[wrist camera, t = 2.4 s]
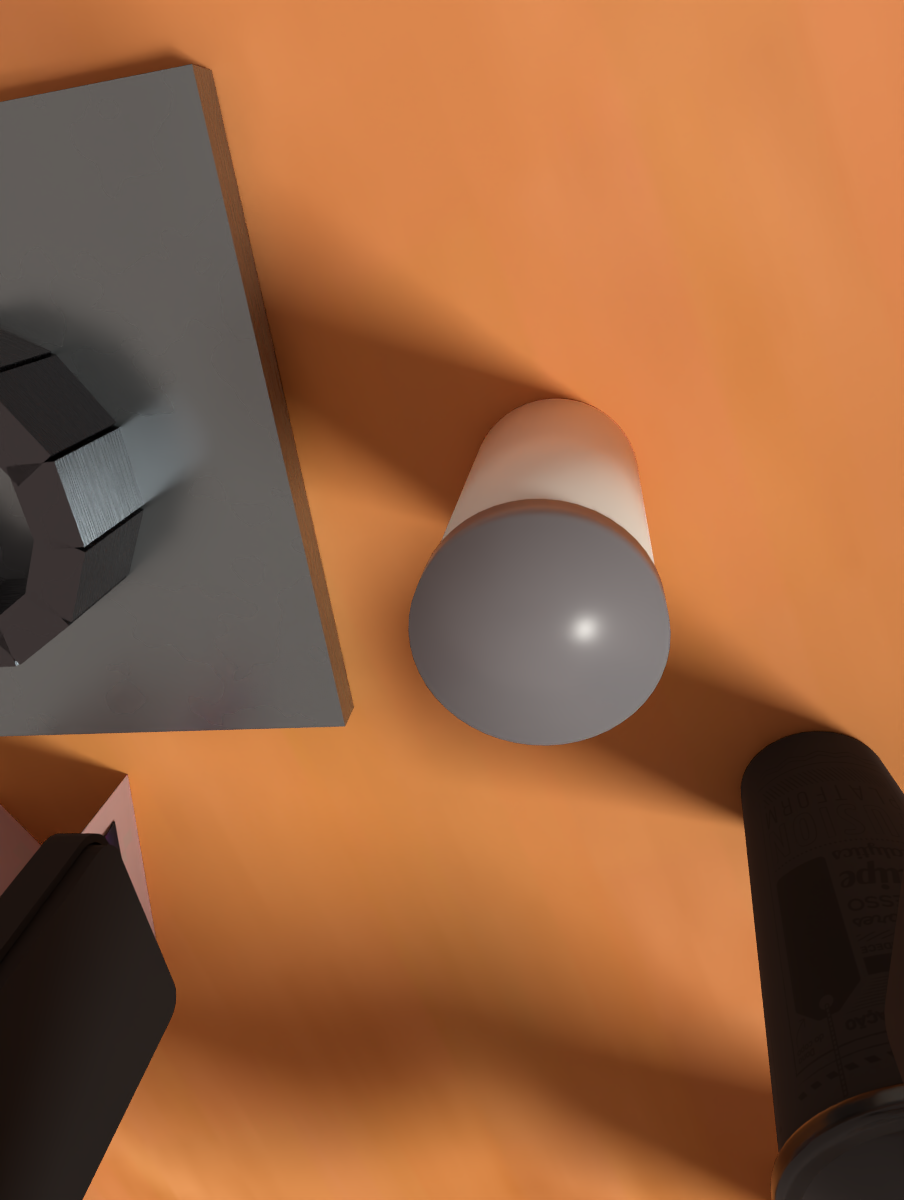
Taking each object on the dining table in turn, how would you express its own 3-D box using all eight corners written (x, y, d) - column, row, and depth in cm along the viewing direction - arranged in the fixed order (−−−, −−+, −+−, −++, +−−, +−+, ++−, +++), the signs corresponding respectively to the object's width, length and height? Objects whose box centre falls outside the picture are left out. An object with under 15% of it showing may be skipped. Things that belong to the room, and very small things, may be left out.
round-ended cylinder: (637, 385, 24) (667, 506, 15) (644, 552, 26) (673, 742, 17) (460, 404, 25) (388, 527, 16) (481, 562, 27) (429, 748, 18)
